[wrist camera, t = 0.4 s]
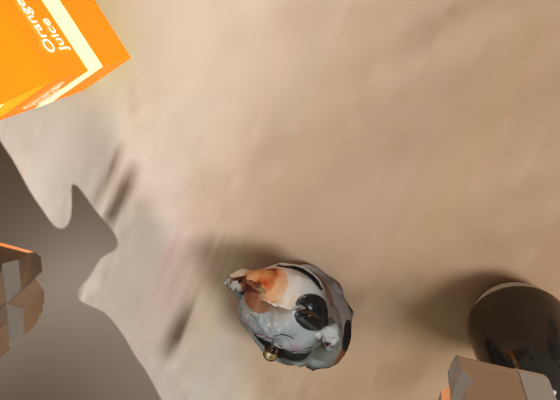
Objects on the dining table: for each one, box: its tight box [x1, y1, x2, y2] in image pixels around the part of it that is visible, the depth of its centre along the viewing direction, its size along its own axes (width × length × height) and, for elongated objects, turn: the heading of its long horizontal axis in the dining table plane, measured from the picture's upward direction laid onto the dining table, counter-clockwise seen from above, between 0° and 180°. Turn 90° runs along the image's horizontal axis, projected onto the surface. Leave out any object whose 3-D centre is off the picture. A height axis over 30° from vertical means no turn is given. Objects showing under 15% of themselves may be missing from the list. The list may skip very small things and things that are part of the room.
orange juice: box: [0, 0, 131, 120], centre depth 48 cm, size 8×9×20 cm
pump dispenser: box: [467, 282, 560, 400], centre depth 52 cm, size 10×10×15 cm
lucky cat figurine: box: [224, 263, 353, 371], centre depth 57 cm, size 15×12×14 cm
